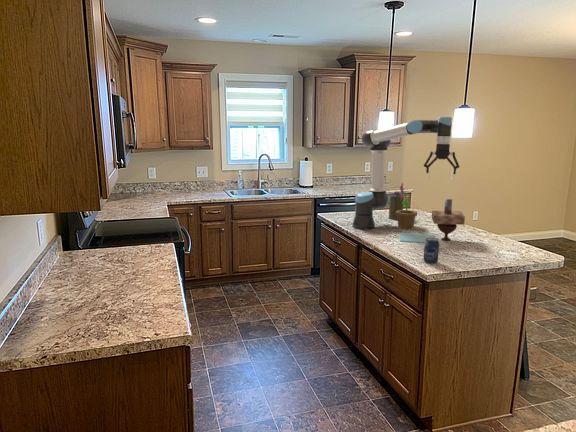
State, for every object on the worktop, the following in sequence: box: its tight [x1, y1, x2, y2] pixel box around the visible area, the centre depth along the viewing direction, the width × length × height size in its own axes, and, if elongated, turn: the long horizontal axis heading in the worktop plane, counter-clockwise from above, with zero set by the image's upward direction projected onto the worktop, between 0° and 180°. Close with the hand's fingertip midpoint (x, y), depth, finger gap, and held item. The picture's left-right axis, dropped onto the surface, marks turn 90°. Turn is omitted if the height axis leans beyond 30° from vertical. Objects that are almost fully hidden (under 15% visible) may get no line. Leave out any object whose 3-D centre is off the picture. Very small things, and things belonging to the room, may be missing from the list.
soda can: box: [423, 237, 440, 265], centre depth 216 cm, size 7×7×12 cm
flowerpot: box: [396, 182, 418, 229], centre depth 292 cm, size 14×14×30 cm
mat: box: [399, 232, 435, 244], centre depth 264 cm, size 20×20×1 cm
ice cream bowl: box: [436, 224, 458, 242], centre depth 259 cm, size 11×11×15 cm
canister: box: [388, 191, 405, 221], centre depth 319 cm, size 11×10×20 cm
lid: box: [431, 198, 466, 226], centre depth 256 cm, size 17×17×13 cm
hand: (440, 179), depth 261 cm, fingers open, 13 cm apart
